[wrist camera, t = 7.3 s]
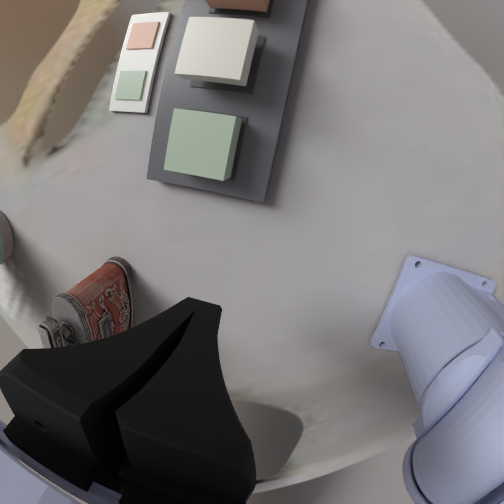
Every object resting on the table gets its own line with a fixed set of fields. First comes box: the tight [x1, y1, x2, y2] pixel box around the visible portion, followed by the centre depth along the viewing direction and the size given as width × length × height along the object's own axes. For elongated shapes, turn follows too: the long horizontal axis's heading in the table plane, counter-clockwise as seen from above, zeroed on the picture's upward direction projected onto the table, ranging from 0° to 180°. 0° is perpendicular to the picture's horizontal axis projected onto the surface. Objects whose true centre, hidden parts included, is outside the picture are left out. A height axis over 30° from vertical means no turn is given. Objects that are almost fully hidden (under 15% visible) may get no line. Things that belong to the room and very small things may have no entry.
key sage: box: [164, 108, 242, 181], centre depth 16 cm, size 4×4×2 cm
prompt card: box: [109, 12, 171, 113], centre depth 17 cm, size 3×8×1 cm, turn 169°
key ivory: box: [174, 17, 259, 86], centre depth 13 cm, size 4×4×2 cm
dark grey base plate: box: [147, 0, 308, 203], centre depth 16 cm, size 8×17×1 cm, turn 169°
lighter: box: [38, 257, 137, 349], centre depth 20 cm, size 8×3×10 cm, turn 171°
